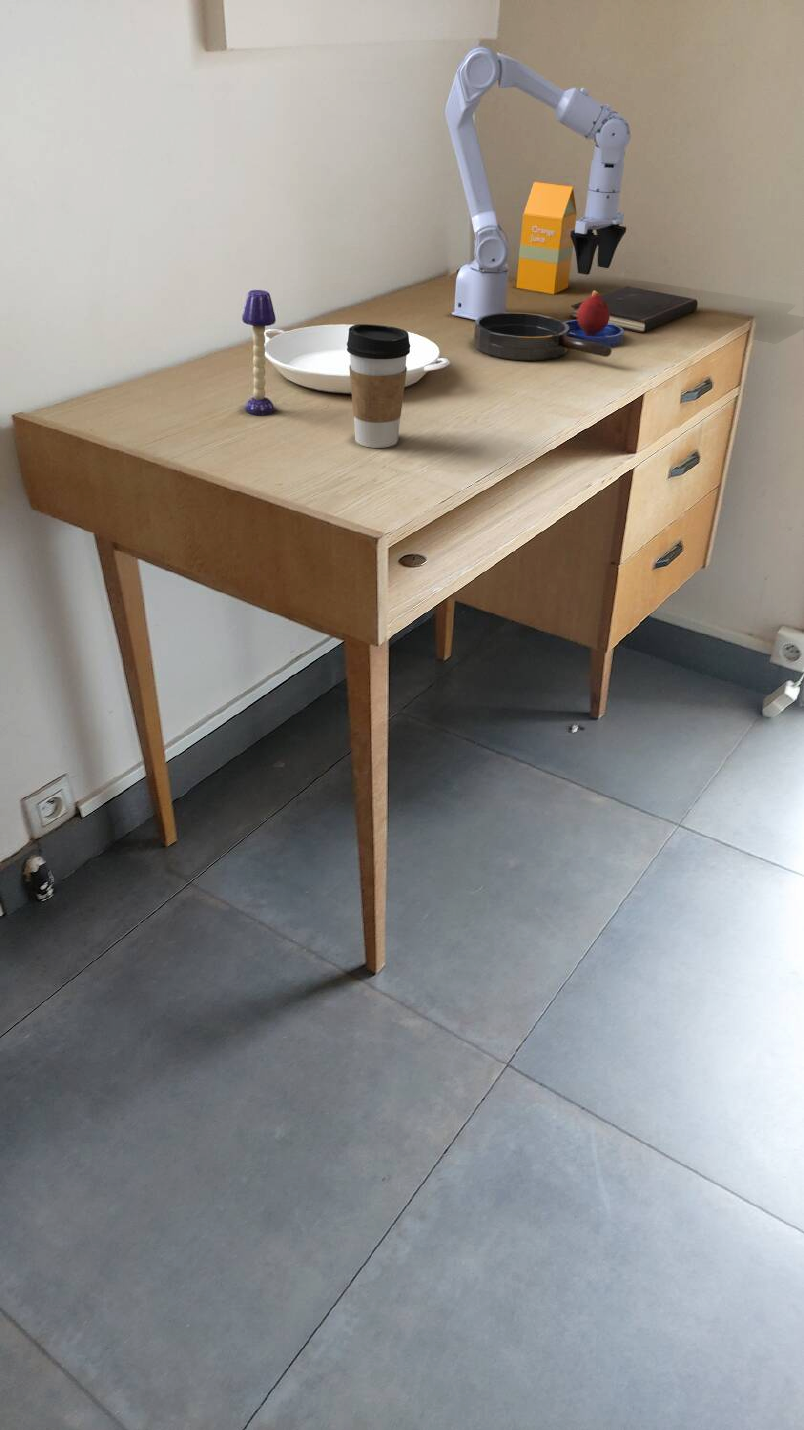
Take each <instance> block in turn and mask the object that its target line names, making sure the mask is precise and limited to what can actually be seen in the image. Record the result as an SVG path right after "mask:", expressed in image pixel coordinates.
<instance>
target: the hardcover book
mask: <svg viewBox="0 0 804 1430" xmlns="http://www.w3.org/2000/svg"><path fill="white" fill-rule="evenodd" d="M599 295H600V297H601V298H602V299H603V300H604V301H605V302H606V304H607V306H608V308H609V321H608V323H612V324H615V325H617V326H619V327H622V329H623V330H624V331H629V332H630V331H631V332H635V333H638V334H639V333H640V334H643V333H646V332H648V331H650V330H652V329H654V328H657V327H660V326H662V325H665V324H667V323H669V322H672V321H675V320H676V319H678V318H681V317H683V316H686V315H688V314H691V313H692V312H695V311H696V310H697V308H698V304H699V302H698V300H697V298H691V297H686V296H682V295H677V294H671V293H666V292H662V291H655V290H650V289H646V288H640V287H635V286H630V285H626V286H623V287H619V288H617V289H614V290H612V291H609V292H606V293H604V294H599ZM584 301H585V300H584ZM584 301H583V300H582V301H580V302H578V303H575V304H572V305H570V306H571V308H573V310H572V315H570V316H569V317H570V319H573V320H577V312H578V309H579V307H580V305H581V304H582V303H583V302H584Z"/></svg>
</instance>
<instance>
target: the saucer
mask: <svg viewBox="0 0 804 1430" xmlns="http://www.w3.org/2000/svg"><path fill="white" fill-rule="evenodd" d="M564 322H565V323H566V324H568V326H569V328H570V330H569V337H572V338H576V339H581V340H585V341H589V342H594V343H598V344H602V345H607V346H609V347H610V348H612V347H617V346H619V345H621V344H622V343H623V339H624V334H625V329H622V327H619V326H617V325H615V324H612V323H608V324H607V325H606V327H605V328H604V329H603V330H602V331H600V332H599V333H597V334H595V335H594V336H587V335H586V333H585V332H584V331H583V330H582V329H581V327H580V326H579V324H578V321H577V319H571V320H565V321H564Z"/></svg>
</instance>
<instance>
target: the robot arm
mask: <svg viewBox="0 0 804 1430" xmlns="http://www.w3.org/2000/svg"><path fill="white" fill-rule="evenodd" d="M496 54H497V55H496ZM498 58H499V59H498ZM497 81H498V82H497ZM496 83H497V85H498V88H499V89H506V88H515V89H518V90H520V91H522V92H524V93H525V94H527V95H529V96H531V97H532V98H535V99H536V100H538V101H540V102H541V103H543V104H544V105H546V106H548V107H550V108H551V109H554V112H555V116H556V117H555V118H556V121H557V122H558V123H559V124H561V125H562V126H565V127H566V128H568V129H569V130H571V131H572V132H574V133H576V134H578V135H579V136H581V137H582V138H583V139H586V140H593V141H594V143H595V144H594V149H593V157H592V160H591V163H590V171H589V179H588V186H587V187H588V189H587V195H586V205H585V212H584V215H583V216H582V217H581V218H580V219H579V220H576V224H575V230H573V231H571V234H570V237H571V239H572V242H573V249H574V252H575V257H576V258H575V260H576V267H577V268H576V269H577V274H581V275H586V276H588V275H590V274H591V270H592V266H593V262H594V258H595V254H596V251H597V267H598V268H604V269H609V268H610V267H611V264H612V261H613V259H614V256H615V252H616V251H617V249H618V245H619V244H620V242H621V240H622V238H623V237H624V236H625V234H626V232H627V226H625V225H624V226H623V223H624V216H625V212H622V211H618V210H619V202H620V196H621V188H622V182H623V173H624V166H625V162H624V160H625V155H626V148H627V146H628V144H629V143H630V142H631V138H632V135H631V128H630V125H629V123H628V121H627V120H626V119H625V118H624V117H623V116H622V115H621V114H619V113H618V111H616V110H612V109H613V107H612V105H610V104H608V103H606V104H605V105H604V104H603V103H601V102H600V101H598V100H596V99H594V98H593V97H591V96H590V95H589V92H590V91H589V90H587V88H584V87H581V89H579V88H577V87H571V88H569V89H566V90H563V89H561V88H560V87H559V86H558V85H555V84H554V83H552V82H551V81H549V80H547V79H546V78H545V77H544V76H542V75H541V74H539V73H538V72H536V71H534V70H533V69H531V68H530V67H529V66H527V65H525V64H524V63H522V62H521V61H519V60H517V59H515V58H514V57H511V56H508V55H506V54H503V53H501V52H496V53H495V52H494V51H493V50H492V49H491V48H490V47H488V46H485V45H477V46H474V47H472V48H471V49H470V50H468V52H467V53H466V54H465V55H464V57H463V59H462V60H461V61H460V63H459V65H458V67H457V68H456V71H455V75H454V78H453V82H452V86H451V89H450V92H449V96H448V99H447V102H446V106H445V110H444V111H445V112H444V113H445V118H446V122H447V123H446V124H447V125H448V127H447V128H448V130H449V133H450V134H449V135H450V138H451V142H452V147H453V151H454V153H455V159H456V162H457V167H458V170H459V174H460V178H461V182H462V187H463V190H464V191H463V192H464V194H465V195H464V196H465V198H466V201H467V202H466V203H467V206H468V210H469V214H470V219H471V223H472V228H473V232H474V241H473V243H474V260H473V261H471V262H470V263H467V264H464V265H463V266H461V267H460V268H459V270H458V273H457V276H456V279H455V290H454V291H455V294H454V310H453V311H452V312H451V315H452V316H454V317H459V318H465V319H469V320H473V321H476V320H477V319H478V318H479V317H482V316H485V315H488V314H495V313H508V312H507V311H506V307H507V296H508V284H509V275H510V274H509V273H510V272H509V271H510V265H509V264H508V263H507V261H508V259H509V255H510V247H509V244H508V243H509V240H508V236H507V235H508V234H507V233H506V231H505V230H504V229H503V228H502V227H501V225H500V223H499V219H498V216H497V212H496V209H495V204H494V199H493V197H492V192H491V188H490V183H489V179H488V175H487V171H486V167H485V163H484V158H483V154H482V150H481V146H480V141H479V137H478V134H477V133H478V132H477V129H476V124H475V120H474V114H475V112H476V110H477V108H478V106H479V105H480V102H481V101H482V99H483V97H484V96H485V95H487V94H488V92H489V91H490V90H491V89H492V88H493V87H494V86H495V85H496ZM594 231H595V232H596V234H595V232H594Z"/></svg>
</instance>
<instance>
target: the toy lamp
mask: <svg viewBox="0 0 804 1430" xmlns="http://www.w3.org/2000/svg"><path fill="white" fill-rule="evenodd" d="M241 320H242V323H244V324H246V325H249V326H252V332H253V335H252V342H253V346H252V352H253V357H252V364H253V369H252V374H253V376H254V377H253V381H252V384H253V390H252V393H253V394H252V395H253V397H251V398H249V399H248V400H247V402H246V404H245V408H244V410H245V412H247V413H248V414H251V415H254V416H255V415H256V416H257V415H258V416H264V415H271V414H273V413H274V412H275V406H274V403H273V402H272V401H271V399H269V398H267V397H266V389H265V386H266V379H265V376H266V367H265V365H266V356H265V346H264V344H265V335H264V332H265V330H266V327H268V326H269V327H270V326H272V325H275V324H276V315H275V310H274V304H273V301H272V298H271V294H270V292H268V291H267V290H263V289H252V290H249V291H248V293H247V295H246V299H245V303H244V308H243V312H242V319H241Z"/></svg>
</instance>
